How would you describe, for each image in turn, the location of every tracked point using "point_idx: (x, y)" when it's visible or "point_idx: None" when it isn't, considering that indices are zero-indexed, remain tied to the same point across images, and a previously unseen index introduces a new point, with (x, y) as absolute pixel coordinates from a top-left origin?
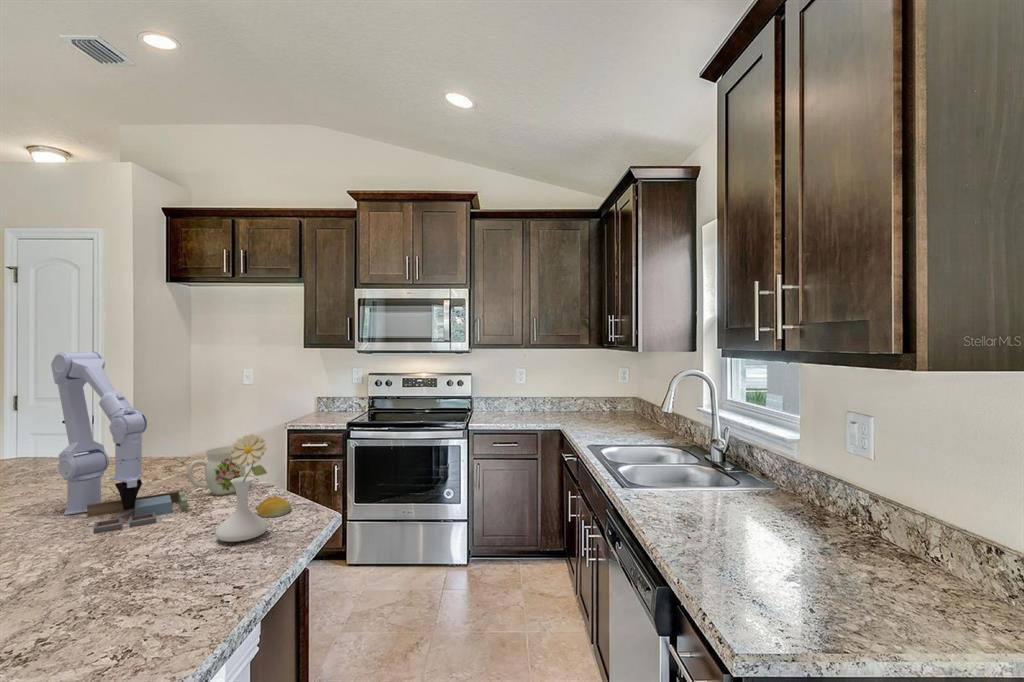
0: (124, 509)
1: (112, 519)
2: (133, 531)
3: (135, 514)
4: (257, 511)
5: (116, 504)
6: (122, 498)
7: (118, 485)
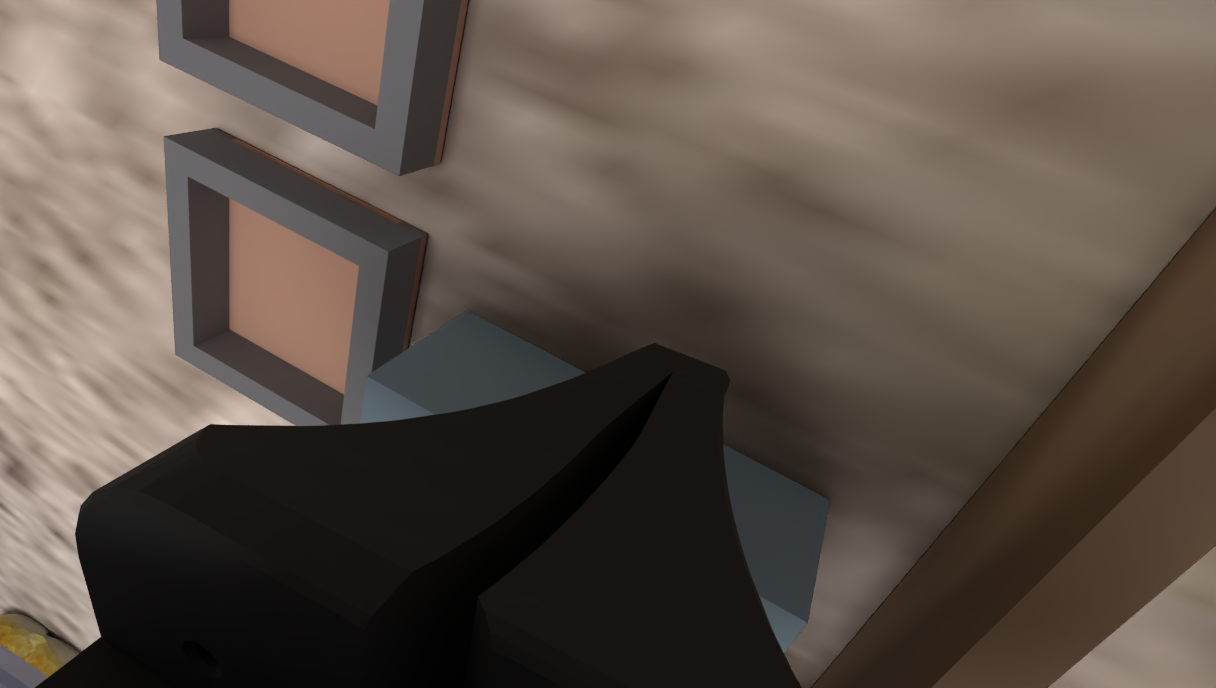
0: (642, 348)
1: (416, 60)
2: (87, 95)
3: (430, 335)
4: (48, 655)
5: (1113, 453)
6: (504, 407)
7: (158, 557)
